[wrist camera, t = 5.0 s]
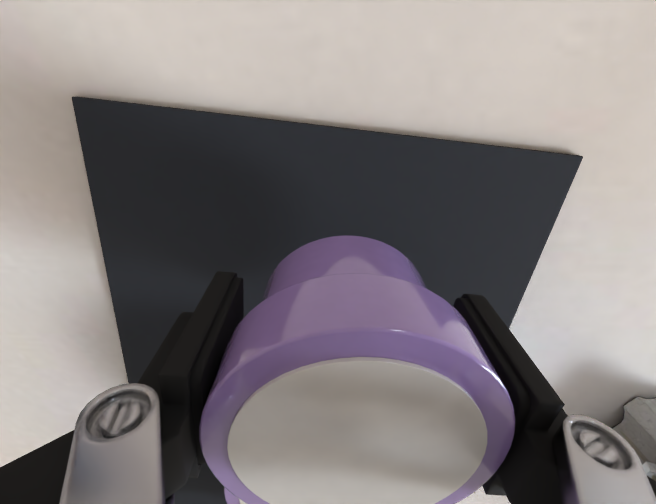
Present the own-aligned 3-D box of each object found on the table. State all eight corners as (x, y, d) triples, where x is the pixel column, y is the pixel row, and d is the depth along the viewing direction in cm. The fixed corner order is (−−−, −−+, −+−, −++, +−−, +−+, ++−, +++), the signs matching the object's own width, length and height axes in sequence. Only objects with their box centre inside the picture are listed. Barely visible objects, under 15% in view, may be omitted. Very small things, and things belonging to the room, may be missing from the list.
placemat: (76, 96, 11) (71, 96, 11) (578, 155, 13) (583, 156, 12) (158, 521, 22) (156, 526, 22) (419, 527, 24) (420, 532, 24)
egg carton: (570, 510, 24) (617, 589, 20) (504, 473, 21) (543, 553, 18) (724, 430, 20) (815, 507, 16) (663, 375, 18) (753, 450, 14)
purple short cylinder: (248, 207, 9) (182, 315, 5) (466, 230, 10) (578, 349, 6) (247, 370, 12) (204, 528, 8) (415, 383, 13) (463, 540, 8)
